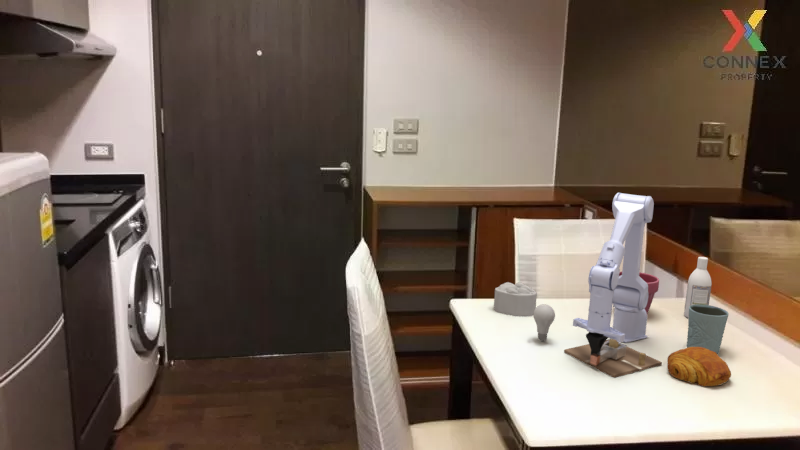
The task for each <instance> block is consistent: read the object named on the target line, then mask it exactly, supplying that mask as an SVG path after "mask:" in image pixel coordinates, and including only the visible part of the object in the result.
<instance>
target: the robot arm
mask: <svg viewBox="0 0 800 450" xmlns="http://www.w3.org/2000/svg"><path fill="white" fill-rule="evenodd" d="M654 202H655V201H654V199H653V198H652V196H651V195H647V196H646V195H641V194H640V195H639V194H638V195H637V194H630V193H622V192H617V193H616V194H615V195H614V197H613V199H612V205H611V207H612V214H613V217H614V219H615V220H614V224H613V225H612V231H611V234H610V237H609V240H607V241H605V242H604V243H603V244H602V245H603V246H602V248H601V251H600V253H599V255H598V258H597V260H596V264H595V265H592V266H591V268H590V270H589V273H588V279H587V281H588V293H590V296H589V305H588V314H587V315H588V316H587V319H584V318H580V317H575V318H573V320H572V321H573V322H572V326H573V327H578V328H582V329H585V330H586V332H588V333H586V334H585V338H586V339H587V342H588V344H590V348H591V355H592V354H594V353H595V354H596V353H598V352H600V351H601V347H602V346H603V344H604V342H605V341H606V340H608V338H609V339H614V340H617V342H618V343H625V344H626V343H631V342H634V341H640V340H643V339H648V338H649V337H648V336H649V335H646V333H647V332H646V331H647V324H648V314H647V313H646V311H645V307H646V305H647V302H648V284H647V283H646V282H645V281H644V280H643V279H642V278H641V277H640V276H639V272H640V270H641V263H642V262H641V260H642V259H641V258H642V251H643V244H644V243H643V242H644V234H645V233H644V231H645V226H646V224H648V223H651V222H652V220H653V215H654V205H655V203H654ZM621 264H622V269H620V266H621ZM621 270H622V271H621ZM620 272H622V275H621V276H619V273H620ZM613 308H614V311H613V312H614V313H613V322H612V326H611V320H612V310H613Z"/></svg>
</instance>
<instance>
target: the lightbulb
mask: <svg viewBox="0 0 800 450" xmlns="http://www.w3.org/2000/svg"><path fill="white" fill-rule="evenodd" d="M532 317H533V319H534V322H535V324H536V331H537V339H538V340H539V341H540V342H544V341H546V340H547V339H548V334H549V330H550V327H551V325H552V324H553V323H554V321H555V319H556V312H555V310H554V308H553V306H550V305H549V304H547V303H546V304H545V303H544V304H543V303H542V304H539V305H536V308H535V310H534V313H533V316H532Z"/></svg>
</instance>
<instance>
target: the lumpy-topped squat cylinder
mask: <svg viewBox="0 0 800 450" xmlns="http://www.w3.org/2000/svg"><path fill="white" fill-rule="evenodd" d="M537 296H538V294H537V291H536V290H535V289H533V288H532V287H530V286H528V285H526V284H525V283H523V282H515V284H514V283H512V282H509V281H507V282H504V283H502V284H499V286H498V287H495V289H494V298H493V301H494V302H493V311H494V312H496V313H498V314H499V313H500V314H503V315H507V316H512V317H533V313H534V310H535V308H536V307H537Z"/></svg>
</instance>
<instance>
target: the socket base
mask: <svg viewBox="0 0 800 450" xmlns="http://www.w3.org/2000/svg"><path fill="white" fill-rule="evenodd" d="M608 340H609V346H611V347H614V348H618V343H619V342H617V340H614V339H611V338H609V339H607V340H606V341H608ZM606 341H605V342H606ZM563 352H564V353H565V354H567V355H568V356H569V357H572V358H574V359H577V360H579V361H580V362H582V363H584V364H586V365H587V366H590V367H592V368H594V369H596V370H597V371H599V372H602V373H604V374H606V375H608V376H610V377H611V378H613V379H615V378H620V377H623V376H625V375H626V376H627V375H629V374H633V373H634V374H635V373H637V372H641V371H644V370H648V369H652V368H655V367H660V366H662V365H663V362H662V361H661V360H658V359H656V358H653V357H652V356H649V355H647V354H646V353H644V352H640V351H639V350H636V349H633V348H631V347H629V346H626V355H624V356H623V357H621V358H619V359H617V360H616V359H613V358H609V359H607V360H605V361H603V362H601V363H599V364H598V365H597V366H596V365H593V364H590V359H591V348H590V344H589V343H588V344H582V345H579V346H578V345H577V346H574V347H570V348H566V349H564V350H563ZM564 353H563V354H564Z"/></svg>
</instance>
